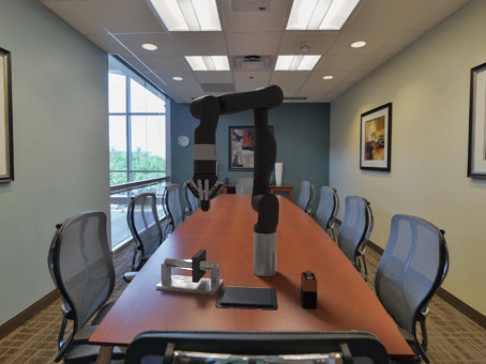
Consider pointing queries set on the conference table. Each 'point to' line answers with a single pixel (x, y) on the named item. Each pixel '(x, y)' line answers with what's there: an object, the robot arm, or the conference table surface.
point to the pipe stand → (185, 282)
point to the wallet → (247, 298)
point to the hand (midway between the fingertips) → (205, 211)
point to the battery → (308, 290)
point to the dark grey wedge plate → (198, 265)
